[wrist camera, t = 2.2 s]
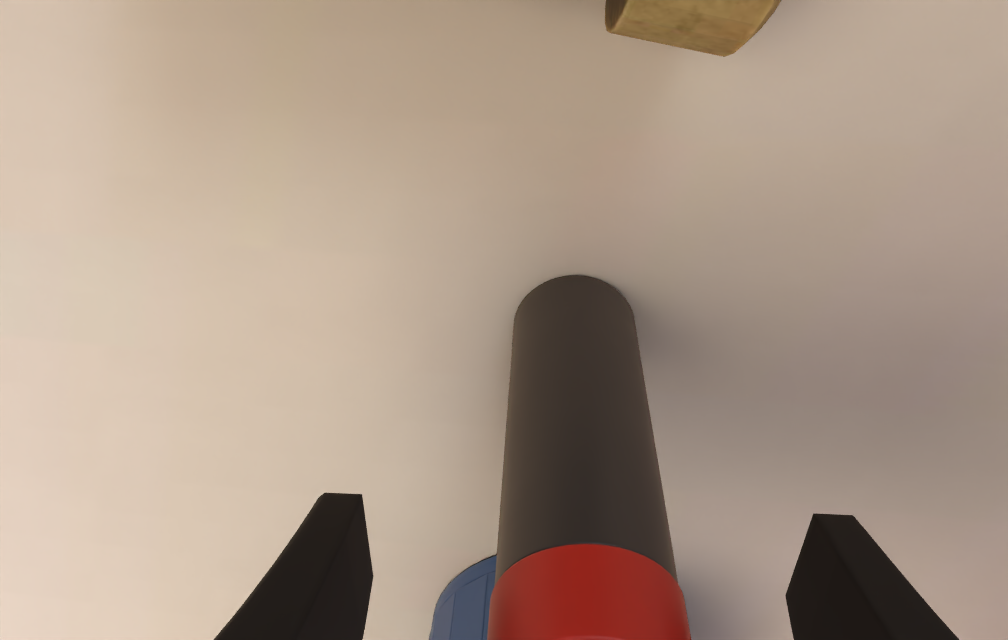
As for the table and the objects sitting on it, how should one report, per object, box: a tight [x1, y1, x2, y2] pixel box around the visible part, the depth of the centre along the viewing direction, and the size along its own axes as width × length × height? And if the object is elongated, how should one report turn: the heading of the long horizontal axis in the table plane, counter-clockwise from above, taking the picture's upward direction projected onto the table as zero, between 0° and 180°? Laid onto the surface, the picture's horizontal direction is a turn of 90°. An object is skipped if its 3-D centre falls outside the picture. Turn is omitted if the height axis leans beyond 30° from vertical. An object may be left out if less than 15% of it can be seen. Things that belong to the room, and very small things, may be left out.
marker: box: [487, 276, 691, 640], centre depth 14 cm, size 3×3×9 cm
